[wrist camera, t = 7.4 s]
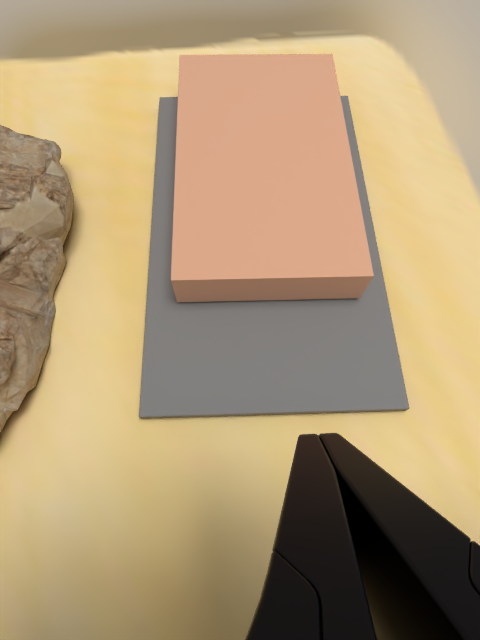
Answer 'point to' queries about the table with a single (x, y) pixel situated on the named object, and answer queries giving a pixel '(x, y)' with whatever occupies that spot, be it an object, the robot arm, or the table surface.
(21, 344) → the flat grey rock
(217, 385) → the mat
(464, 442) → the table surface
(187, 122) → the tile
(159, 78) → the table surface
